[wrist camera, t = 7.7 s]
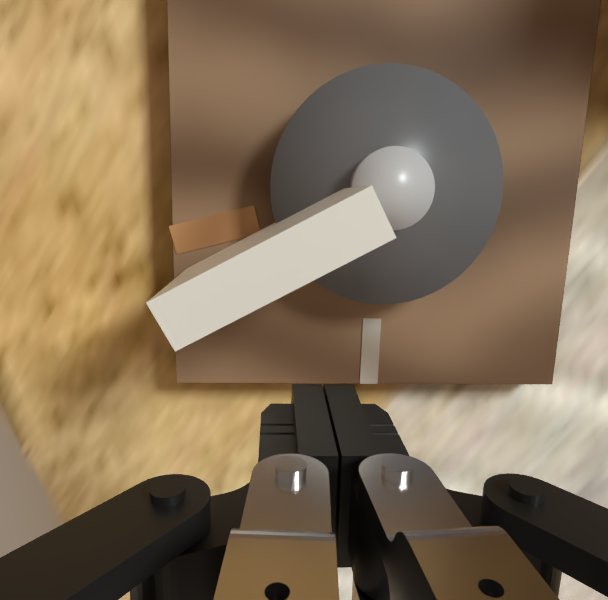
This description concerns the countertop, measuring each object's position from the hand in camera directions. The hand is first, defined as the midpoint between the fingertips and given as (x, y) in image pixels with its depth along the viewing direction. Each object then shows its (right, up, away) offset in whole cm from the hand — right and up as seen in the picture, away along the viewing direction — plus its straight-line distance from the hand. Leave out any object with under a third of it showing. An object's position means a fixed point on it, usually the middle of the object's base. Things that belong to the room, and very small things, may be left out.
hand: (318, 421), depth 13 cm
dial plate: (+3, +8, +10) cm, 13 cm away
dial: (+1, +7, +8) cm, 11 cm away
